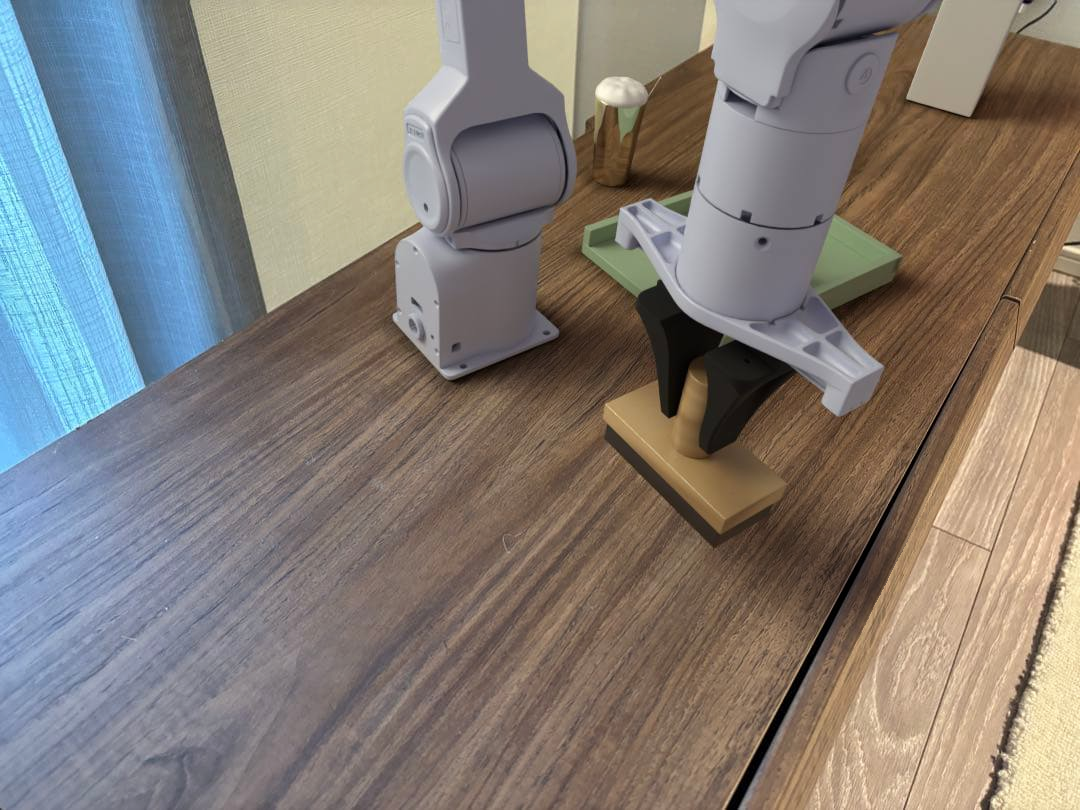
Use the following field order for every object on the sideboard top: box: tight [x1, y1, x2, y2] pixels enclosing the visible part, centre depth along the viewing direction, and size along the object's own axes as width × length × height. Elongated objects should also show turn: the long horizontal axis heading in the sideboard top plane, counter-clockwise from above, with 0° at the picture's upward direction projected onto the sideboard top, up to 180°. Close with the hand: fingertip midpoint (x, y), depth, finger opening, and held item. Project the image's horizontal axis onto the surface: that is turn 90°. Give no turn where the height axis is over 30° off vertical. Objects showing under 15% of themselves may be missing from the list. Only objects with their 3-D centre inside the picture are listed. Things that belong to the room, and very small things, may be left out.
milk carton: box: [905, 0, 1024, 118], centre depth 92 cm, size 7×7×19 cm
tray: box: [581, 189, 903, 347], centre depth 71 cm, size 20×16×2 cm
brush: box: [602, 356, 788, 549], centre depth 45 cm, size 4×9×8 cm, turn 35°
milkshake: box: [591, 75, 662, 188], centre depth 77 cm, size 4×5×10 cm
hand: (698, 425), depth 45 cm, fingers closed on brush, 2 cm apart
